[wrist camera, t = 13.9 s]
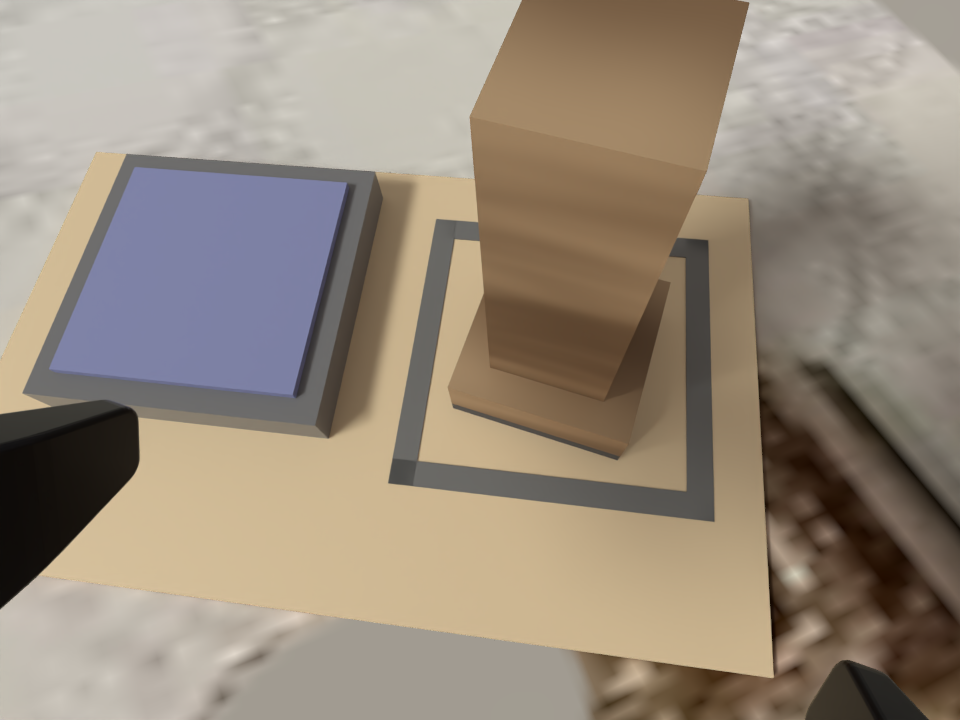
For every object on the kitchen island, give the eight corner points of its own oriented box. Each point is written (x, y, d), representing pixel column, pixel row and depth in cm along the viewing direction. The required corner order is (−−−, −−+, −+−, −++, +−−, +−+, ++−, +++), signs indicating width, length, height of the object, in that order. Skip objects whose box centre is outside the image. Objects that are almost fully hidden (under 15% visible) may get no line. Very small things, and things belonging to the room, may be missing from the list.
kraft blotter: (770, 677, 17) (774, 678, 16) (-85, 557, 19) (-92, 557, 19) (746, 202, 23) (748, 197, 22) (99, 155, 25) (95, 151, 25)
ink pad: (328, 438, 20) (311, 422, 18) (54, 408, 20) (14, 390, 19) (383, 197, 23) (373, 166, 22) (148, 180, 24) (121, 148, 22)
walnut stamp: (617, 460, 19) (768, 248, 8) (453, 408, 20) (382, 151, 9) (656, 311, 21) (822, -27, 10) (505, 270, 22) (500, -83, 11)
